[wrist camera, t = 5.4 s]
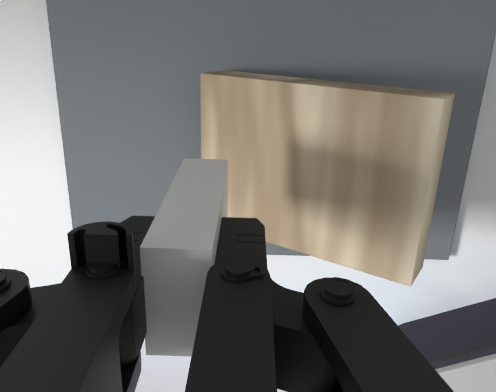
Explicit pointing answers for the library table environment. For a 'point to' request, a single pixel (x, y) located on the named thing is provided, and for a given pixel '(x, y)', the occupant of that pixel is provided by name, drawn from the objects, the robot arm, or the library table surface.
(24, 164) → the library table surface
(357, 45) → the mat
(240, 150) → the tile
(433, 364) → the black red flat box
